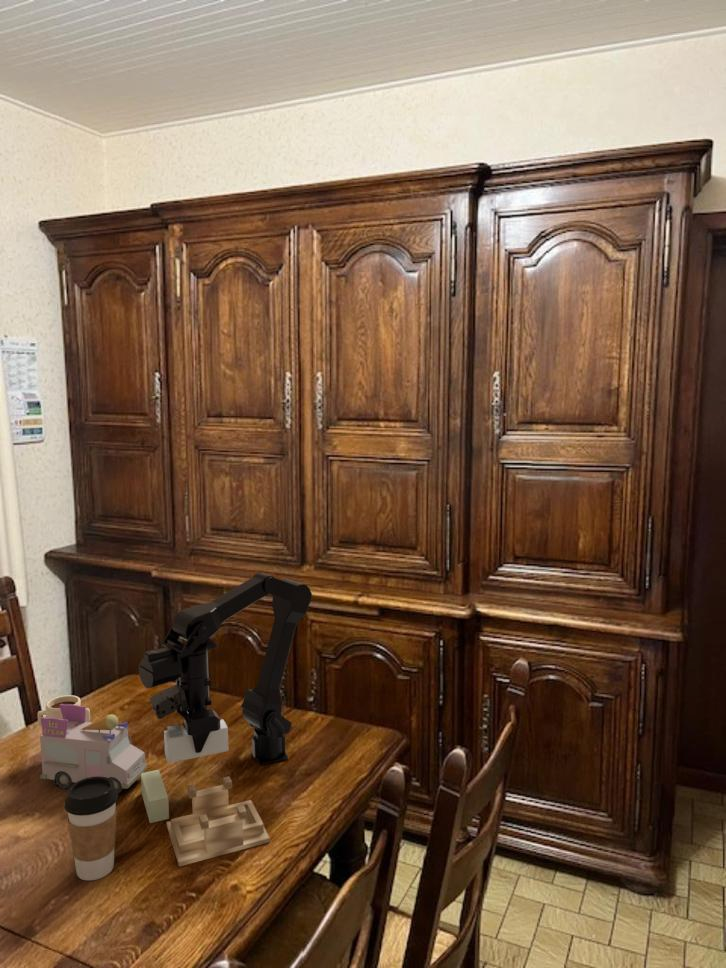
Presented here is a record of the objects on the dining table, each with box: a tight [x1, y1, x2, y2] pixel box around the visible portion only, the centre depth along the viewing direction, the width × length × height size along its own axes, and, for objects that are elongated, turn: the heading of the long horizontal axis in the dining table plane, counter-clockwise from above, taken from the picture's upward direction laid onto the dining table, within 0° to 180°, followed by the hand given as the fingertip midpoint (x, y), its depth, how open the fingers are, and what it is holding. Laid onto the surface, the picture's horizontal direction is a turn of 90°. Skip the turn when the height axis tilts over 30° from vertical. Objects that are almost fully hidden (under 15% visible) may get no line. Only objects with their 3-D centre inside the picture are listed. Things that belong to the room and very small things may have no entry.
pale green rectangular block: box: [140, 769, 170, 824], centre depth 140 cm, size 4×11×4 cm, turn 25°
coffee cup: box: [64, 776, 119, 881], centre depth 121 cm, size 8×8×15 cm
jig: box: [166, 776, 271, 867], centre depth 131 cm, size 16×13×7 cm
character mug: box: [37, 694, 91, 726], centre depth 158 cm, size 11×7×13 cm, turn 98°
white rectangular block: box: [163, 718, 229, 764], centre depth 145 cm, size 12×4×6 cm, turn 114°
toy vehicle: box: [39, 704, 148, 794], centre depth 148 cm, size 9×20×15 cm, turn 78°
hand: (196, 747), depth 145 cm, fingers closed on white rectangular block, 4 cm apart
